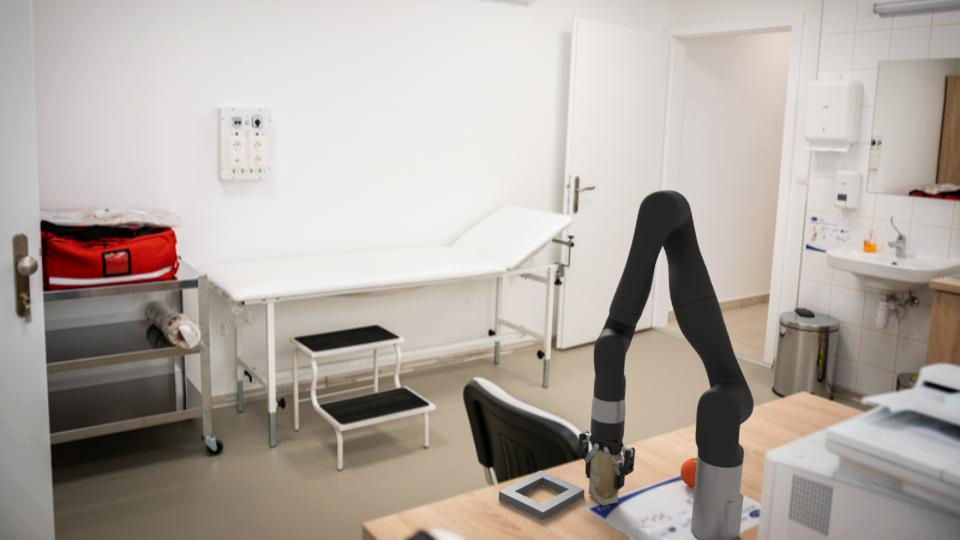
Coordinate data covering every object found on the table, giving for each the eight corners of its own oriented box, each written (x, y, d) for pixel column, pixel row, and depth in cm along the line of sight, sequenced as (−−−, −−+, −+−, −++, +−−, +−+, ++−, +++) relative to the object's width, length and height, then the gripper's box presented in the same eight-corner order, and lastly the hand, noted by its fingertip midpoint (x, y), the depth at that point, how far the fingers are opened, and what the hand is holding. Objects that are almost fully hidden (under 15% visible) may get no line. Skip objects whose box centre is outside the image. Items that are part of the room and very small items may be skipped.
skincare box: (587, 494, 184) (590, 445, 182) (603, 490, 186) (606, 441, 184) (603, 506, 179) (606, 456, 176) (619, 503, 181) (622, 453, 178)
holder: (584, 497, 183) (584, 489, 183) (542, 520, 173) (543, 512, 172) (540, 478, 192) (540, 470, 192) (498, 499, 181) (499, 491, 181)
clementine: (717, 493, 187) (720, 465, 185) (691, 497, 185) (694, 468, 183) (698, 478, 194) (701, 451, 193) (673, 481, 192) (676, 454, 191)
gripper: (644, 419, 176) (639, 488, 180) (591, 402, 186) (588, 467, 189) (625, 429, 171) (621, 499, 174) (572, 410, 180) (569, 477, 184)
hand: (604, 482), depth 182 cm, fingers closed on skincare box, 7 cm apart
